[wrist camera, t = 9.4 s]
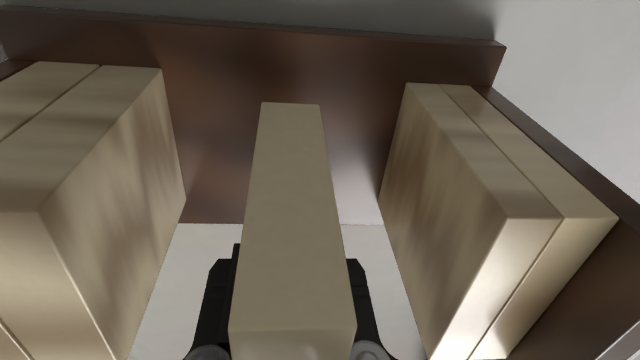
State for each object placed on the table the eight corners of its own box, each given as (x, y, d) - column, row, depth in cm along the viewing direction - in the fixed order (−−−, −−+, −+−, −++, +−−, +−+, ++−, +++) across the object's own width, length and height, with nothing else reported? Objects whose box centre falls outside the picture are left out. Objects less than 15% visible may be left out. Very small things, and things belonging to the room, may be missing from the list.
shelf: (4, 4, 15) (-672, 192, 4) (495, 39, 18) (811, 213, 7) (89, 210, 22) (-93, 471, 12) (431, 214, 25) (539, 431, 14)
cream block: (261, 101, 14) (226, 330, 6) (319, 104, 14) (358, 327, 6) (264, 238, 19) (246, 468, 11) (307, 238, 19) (321, 463, 11)
